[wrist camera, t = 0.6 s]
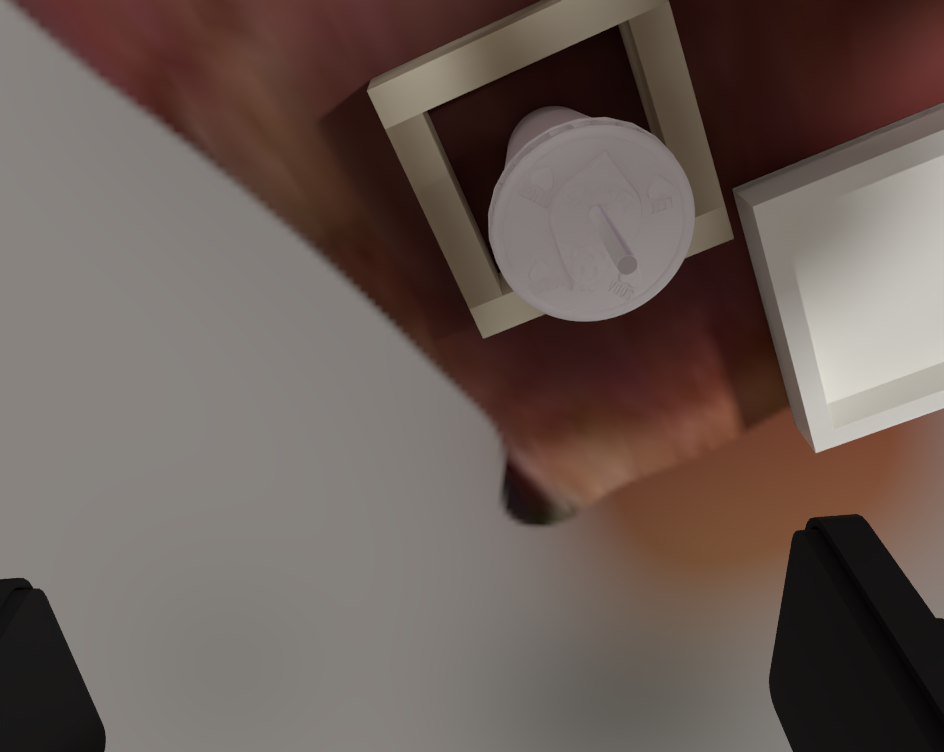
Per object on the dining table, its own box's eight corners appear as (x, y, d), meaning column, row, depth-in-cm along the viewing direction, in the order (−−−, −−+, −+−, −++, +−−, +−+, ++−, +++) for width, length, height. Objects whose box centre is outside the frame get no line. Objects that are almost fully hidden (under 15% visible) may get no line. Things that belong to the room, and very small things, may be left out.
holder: (640, -46, 30) (657, -44, 28) (715, 218, 35) (734, 238, 33) (371, 79, 32) (367, 90, 29) (479, 314, 37) (483, 338, 35)
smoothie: (643, 77, 32) (775, 172, 20) (614, 232, 35) (714, 397, 23) (481, 62, 32) (515, 152, 19) (467, 222, 35) (488, 385, 22)
